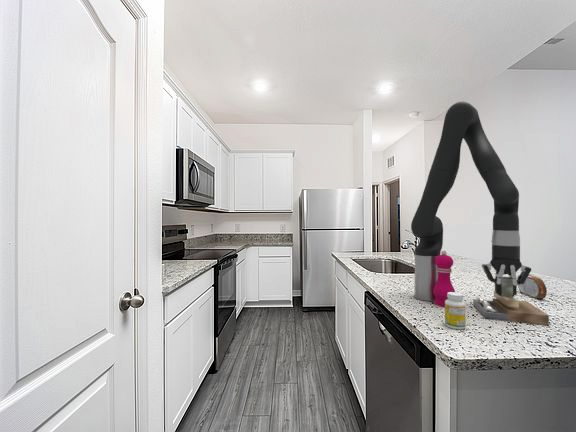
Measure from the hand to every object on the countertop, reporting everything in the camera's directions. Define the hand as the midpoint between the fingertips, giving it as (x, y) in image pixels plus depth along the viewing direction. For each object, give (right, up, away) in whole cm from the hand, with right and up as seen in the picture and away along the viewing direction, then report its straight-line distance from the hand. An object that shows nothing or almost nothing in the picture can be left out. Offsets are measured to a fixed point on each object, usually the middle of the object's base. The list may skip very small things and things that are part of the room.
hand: (505, 295), depth 95 cm
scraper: (0, -2, 0) cm, 2 cm away
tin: (+27, -7, +22) cm, 36 cm away
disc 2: (-4, -3, +2) cm, 6 cm away
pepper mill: (-15, -6, +10) cm, 19 cm away
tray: (-4, -6, +2) cm, 8 cm away
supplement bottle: (-24, -6, -11) cm, 27 cm away
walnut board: (+3, -6, -1) cm, 7 cm away
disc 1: (-3, -3, +6) cm, 8 cm away
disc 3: (-6, -3, -2) cm, 8 cm away
